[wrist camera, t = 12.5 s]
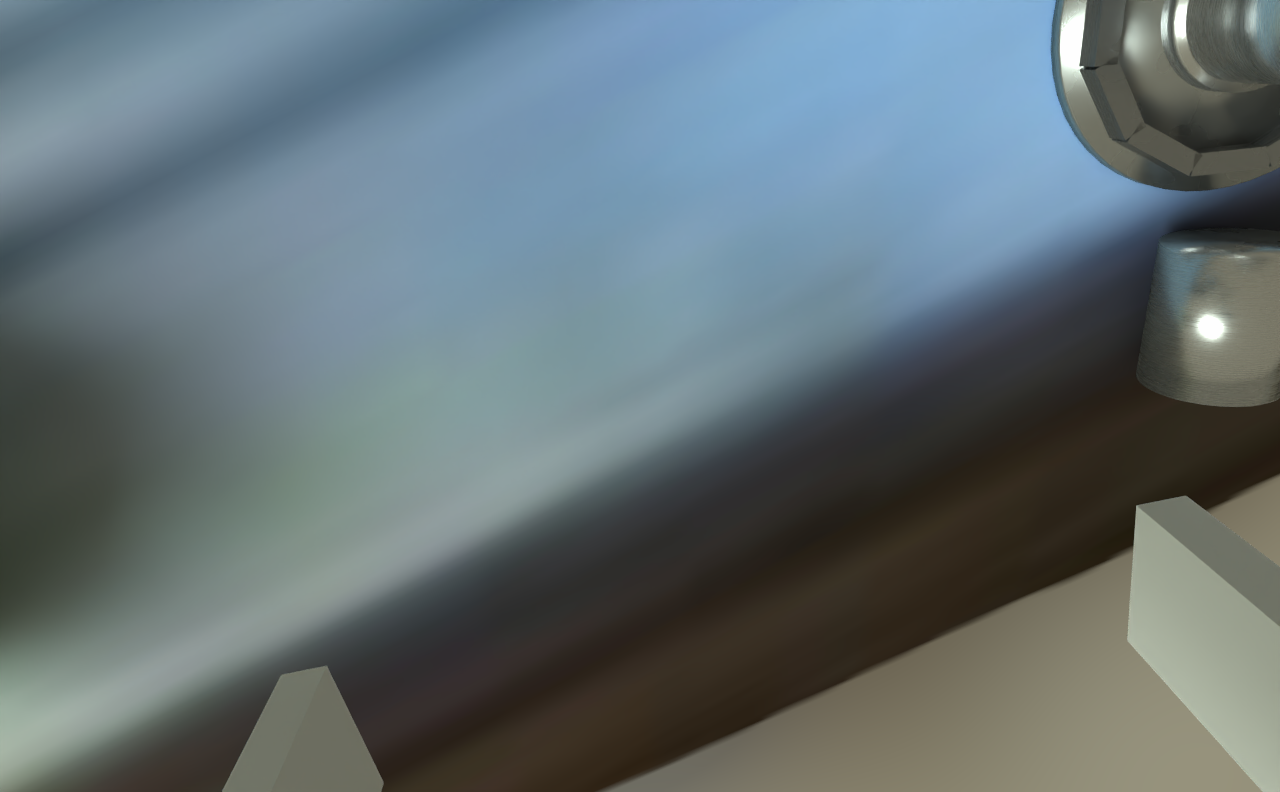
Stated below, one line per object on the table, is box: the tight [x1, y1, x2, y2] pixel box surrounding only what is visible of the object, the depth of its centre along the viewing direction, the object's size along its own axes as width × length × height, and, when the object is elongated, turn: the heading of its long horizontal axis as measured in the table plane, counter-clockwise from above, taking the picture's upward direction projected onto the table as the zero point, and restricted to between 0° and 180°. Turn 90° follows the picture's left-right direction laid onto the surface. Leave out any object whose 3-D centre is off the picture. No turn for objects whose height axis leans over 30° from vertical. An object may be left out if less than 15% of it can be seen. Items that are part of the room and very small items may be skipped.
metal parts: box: [1051, 0, 1280, 407], centre depth 34 cm, size 25×16×6 cm, turn 6°
